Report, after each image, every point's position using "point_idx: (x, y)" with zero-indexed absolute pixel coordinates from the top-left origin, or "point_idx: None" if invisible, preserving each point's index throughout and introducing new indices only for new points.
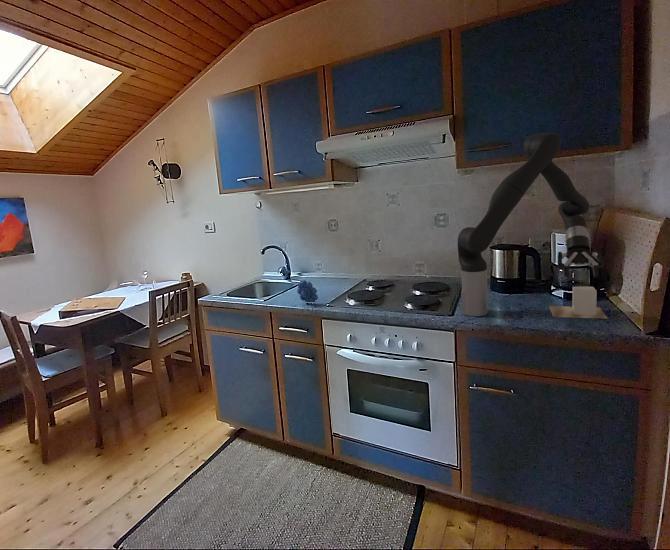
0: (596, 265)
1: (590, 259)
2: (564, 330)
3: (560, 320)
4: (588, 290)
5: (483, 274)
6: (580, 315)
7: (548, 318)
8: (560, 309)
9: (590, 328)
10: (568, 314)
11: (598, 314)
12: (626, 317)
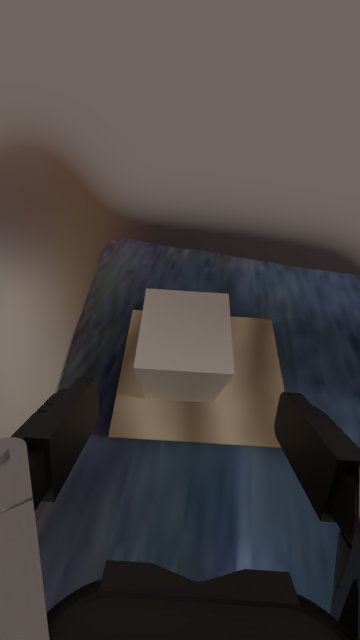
0: (11, 439)
1: (7, 525)
2: (241, 258)
3: None
4: (176, 297)
5: None
6: None
7: (280, 333)
8: (251, 397)
9: (187, 270)
10: None
11: None
12: (69, 349)
